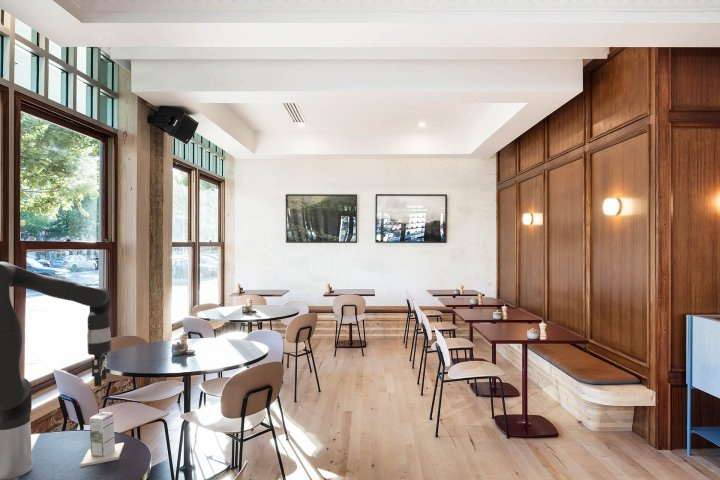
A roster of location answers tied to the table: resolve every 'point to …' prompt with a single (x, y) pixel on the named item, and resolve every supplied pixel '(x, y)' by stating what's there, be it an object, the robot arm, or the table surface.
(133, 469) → the table surface
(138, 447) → the table surface
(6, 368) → the robot arm
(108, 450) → the syrup box
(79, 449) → the table surface
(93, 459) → the ceramic tile
